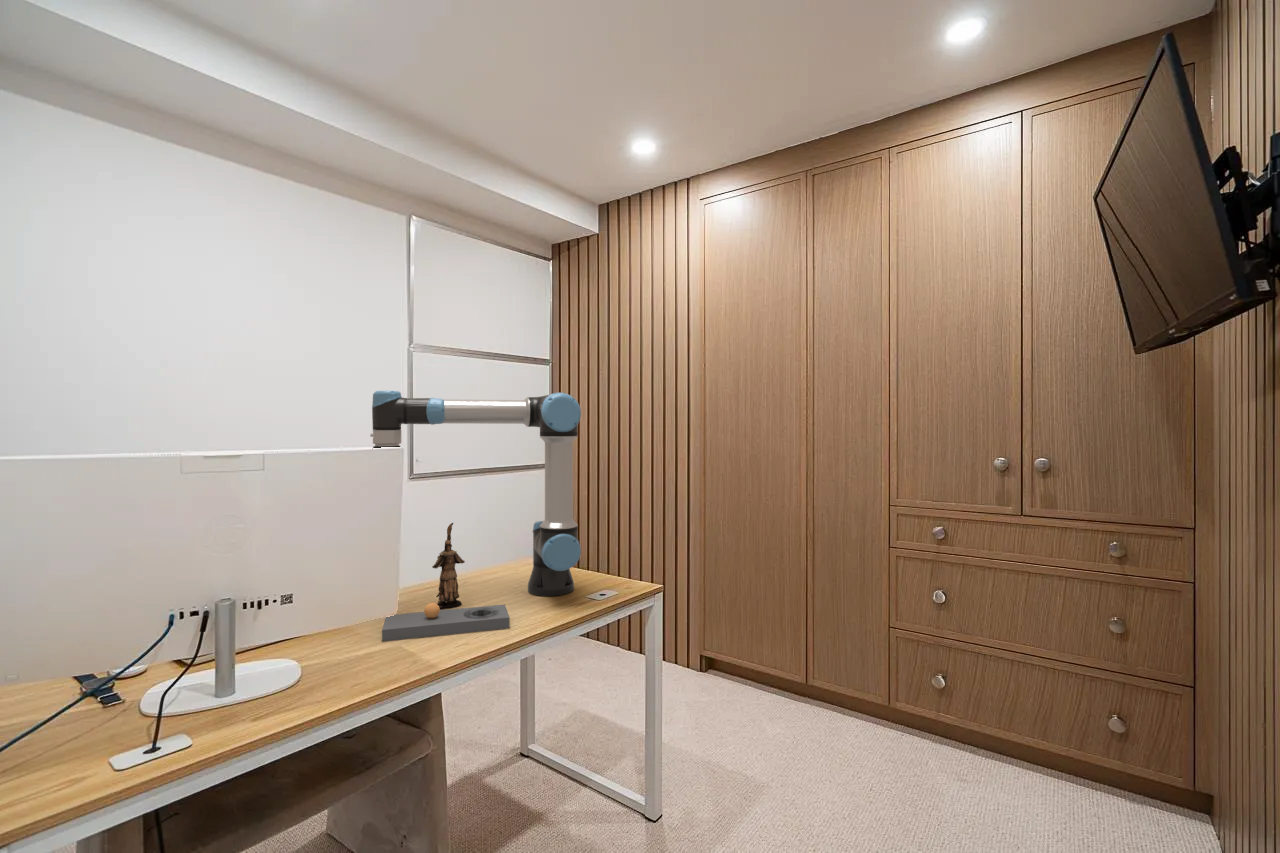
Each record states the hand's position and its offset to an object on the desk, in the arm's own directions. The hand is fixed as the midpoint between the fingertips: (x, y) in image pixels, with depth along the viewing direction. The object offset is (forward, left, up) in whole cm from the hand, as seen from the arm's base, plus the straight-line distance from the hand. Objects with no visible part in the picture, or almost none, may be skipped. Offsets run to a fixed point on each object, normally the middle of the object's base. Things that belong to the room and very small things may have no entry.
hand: (387, 519), depth 174 cm
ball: (-12, +14, -23) cm, 29 cm away
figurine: (-16, -5, -28) cm, 33 cm away
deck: (-16, +14, -28) cm, 35 cm away
